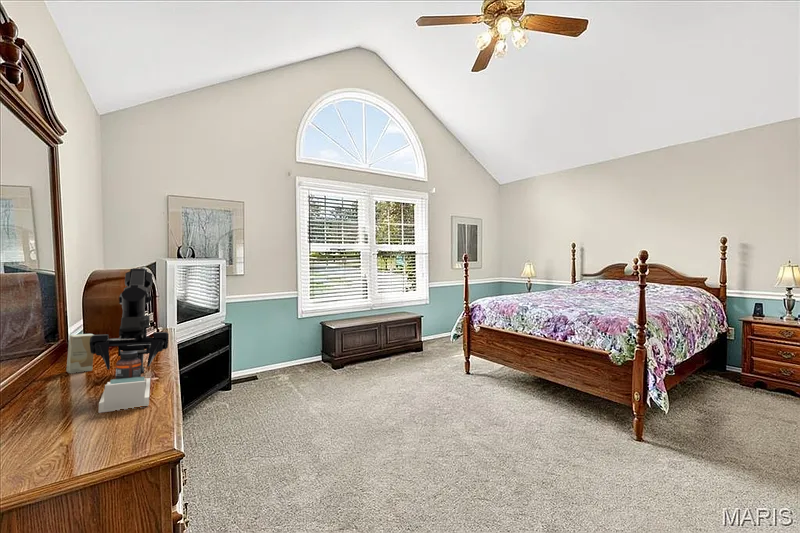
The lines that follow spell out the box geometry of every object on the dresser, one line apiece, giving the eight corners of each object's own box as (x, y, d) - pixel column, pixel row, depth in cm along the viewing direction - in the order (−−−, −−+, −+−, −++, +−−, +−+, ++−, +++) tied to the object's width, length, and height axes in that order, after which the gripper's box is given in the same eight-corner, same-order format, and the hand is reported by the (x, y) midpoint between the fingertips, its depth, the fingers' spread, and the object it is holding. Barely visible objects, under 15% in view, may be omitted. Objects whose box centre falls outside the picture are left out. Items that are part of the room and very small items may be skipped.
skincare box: (69, 374, 125) (71, 336, 125) (65, 371, 128) (67, 335, 128) (93, 370, 130) (95, 334, 130) (89, 368, 133) (91, 333, 133)
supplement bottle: (143, 388, 112) (145, 349, 112) (136, 394, 107) (138, 354, 107) (119, 389, 110) (121, 350, 111) (111, 396, 105) (112, 354, 105)
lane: (107, 390, 111) (108, 367, 111) (149, 385, 116) (151, 364, 117) (98, 412, 94) (99, 386, 95) (148, 406, 100) (149, 381, 100)
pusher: (110, 396, 104) (110, 379, 104) (143, 392, 108) (144, 376, 108) (109, 399, 102) (109, 382, 102) (143, 395, 106) (144, 378, 106)
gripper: (92, 306, 107) (83, 353, 98) (169, 305, 117) (168, 348, 108) (94, 330, 114) (87, 376, 104) (168, 327, 124) (167, 369, 114)
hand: (128, 367), depth 107 cm, fingers open, 9 cm apart
